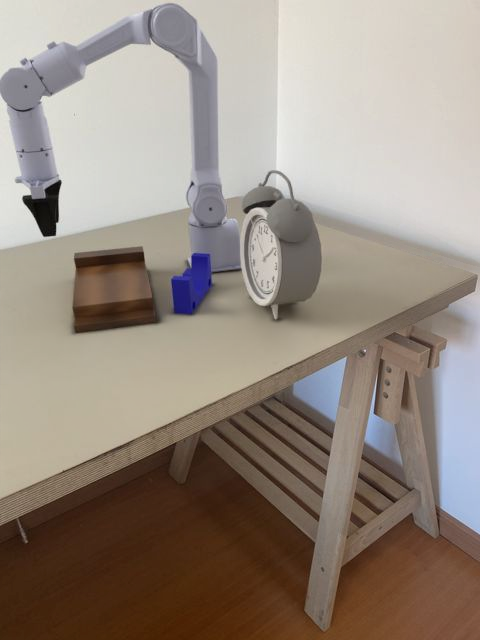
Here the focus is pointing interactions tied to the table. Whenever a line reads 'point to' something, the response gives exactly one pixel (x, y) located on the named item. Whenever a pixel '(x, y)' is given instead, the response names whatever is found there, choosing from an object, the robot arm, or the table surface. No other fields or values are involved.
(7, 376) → the table surface
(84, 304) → the step shelf
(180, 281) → the blue curved notched block
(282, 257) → the alarm clock
